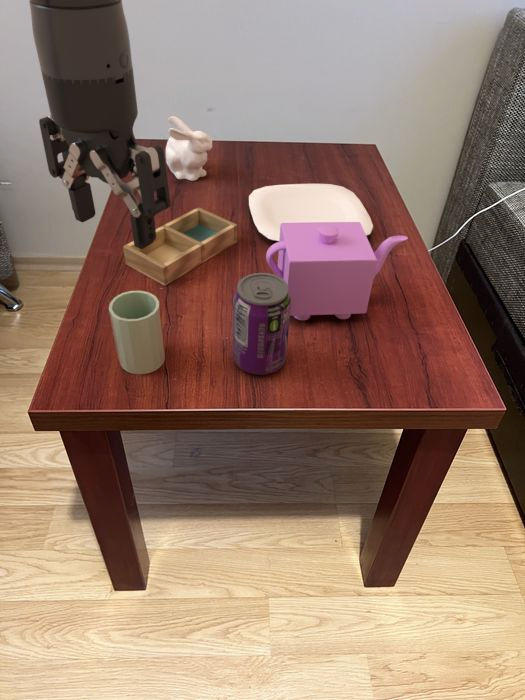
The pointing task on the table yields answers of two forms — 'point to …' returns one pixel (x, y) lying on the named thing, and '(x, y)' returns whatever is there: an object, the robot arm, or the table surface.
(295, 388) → the table surface
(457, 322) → the table surface
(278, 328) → the beverage can
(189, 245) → the holder
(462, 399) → the table surface
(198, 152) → the rabbit
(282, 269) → the teapot
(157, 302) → the cup
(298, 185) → the plate
